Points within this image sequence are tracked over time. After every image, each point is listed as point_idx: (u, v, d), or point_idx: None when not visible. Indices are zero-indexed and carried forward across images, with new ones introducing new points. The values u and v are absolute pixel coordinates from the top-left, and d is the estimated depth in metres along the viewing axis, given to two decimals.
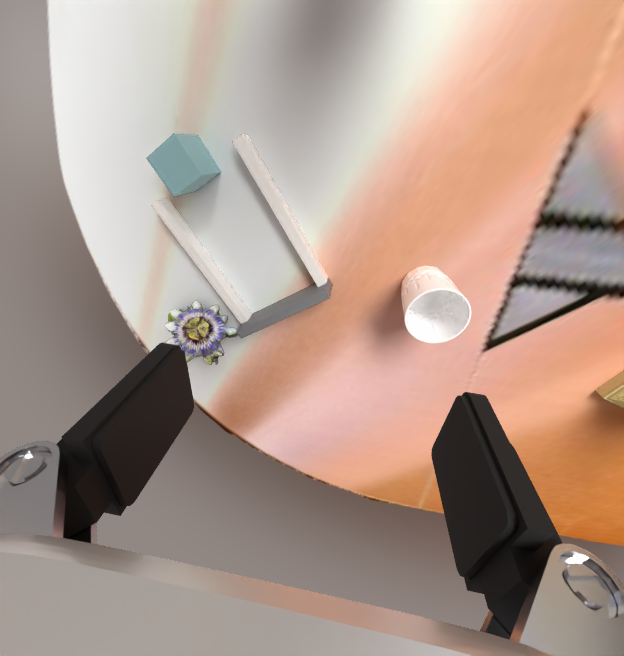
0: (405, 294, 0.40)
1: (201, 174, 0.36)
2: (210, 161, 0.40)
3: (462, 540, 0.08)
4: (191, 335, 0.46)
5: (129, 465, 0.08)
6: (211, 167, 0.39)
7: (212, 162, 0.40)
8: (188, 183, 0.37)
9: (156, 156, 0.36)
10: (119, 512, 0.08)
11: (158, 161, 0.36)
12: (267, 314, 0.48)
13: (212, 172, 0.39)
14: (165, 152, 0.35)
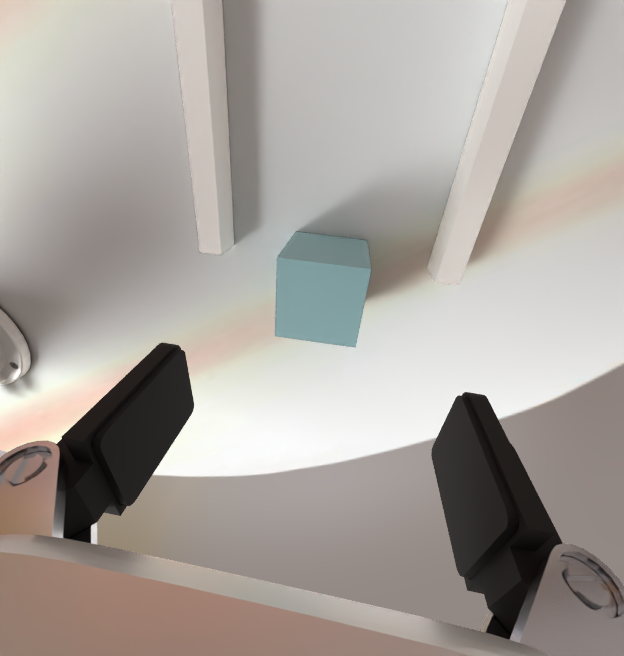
0: None
1: None
2: None
3: (462, 540, 0.08)
4: None
5: (129, 465, 0.08)
6: None
7: None
8: (316, 265, 0.16)
9: (335, 336, 0.18)
10: (119, 512, 0.08)
11: (339, 330, 0.17)
12: None
13: None
14: (313, 329, 0.18)
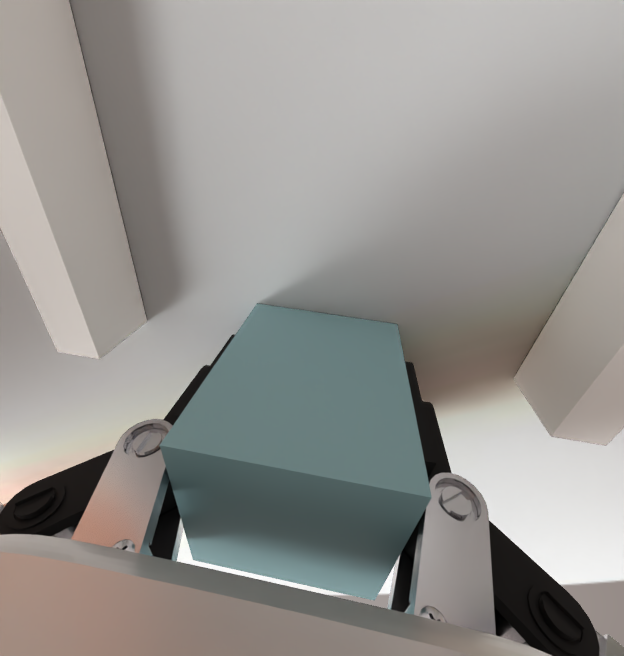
0: None
1: (168, 440, 0.06)
2: None
3: None
4: None
5: None
6: None
7: None
8: (270, 472, 0.05)
9: (327, 580, 0.08)
10: None
11: (336, 574, 0.07)
12: None
13: None
14: (275, 564, 0.07)
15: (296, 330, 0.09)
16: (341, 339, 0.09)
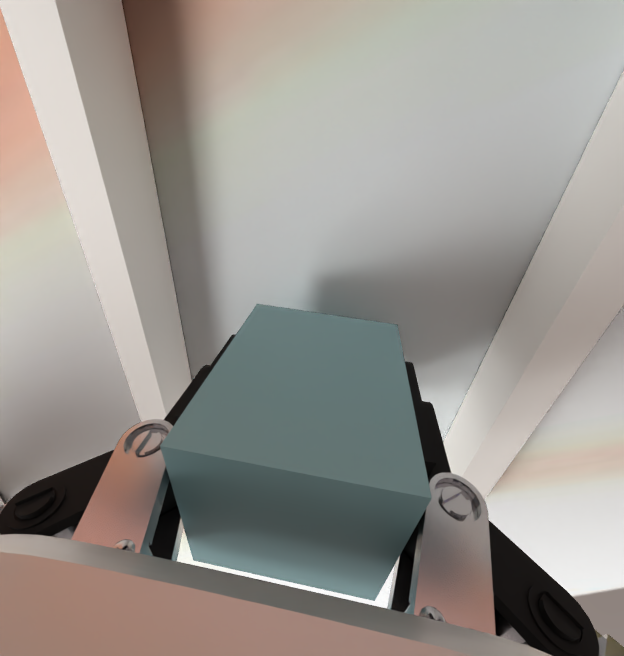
0: None
1: (168, 440, 0.06)
2: None
3: None
4: None
5: None
6: None
7: None
8: (270, 472, 0.05)
9: (327, 581, 0.08)
10: None
11: (336, 575, 0.07)
12: None
13: None
14: (275, 565, 0.07)
15: (296, 331, 0.09)
16: (341, 340, 0.09)
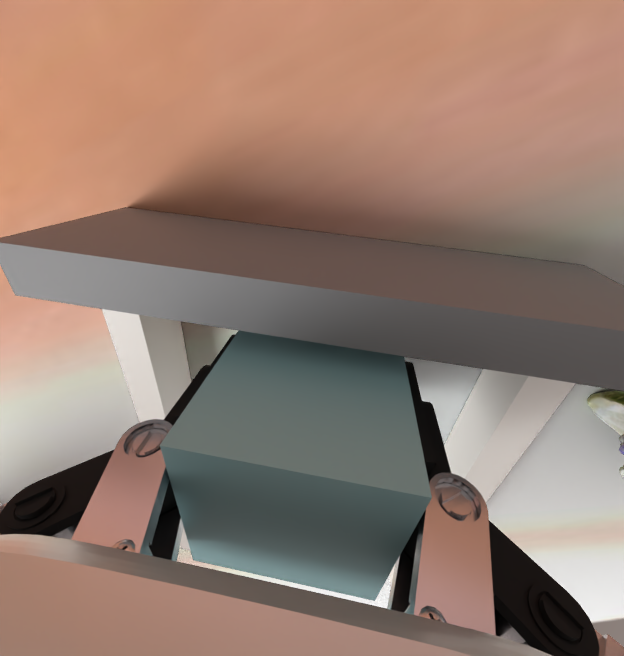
0: None
1: (168, 440, 0.06)
2: None
3: None
4: None
5: None
6: None
7: None
8: (270, 472, 0.05)
9: (327, 581, 0.08)
10: None
11: (336, 574, 0.07)
12: None
13: None
14: (275, 564, 0.07)
15: None
16: None
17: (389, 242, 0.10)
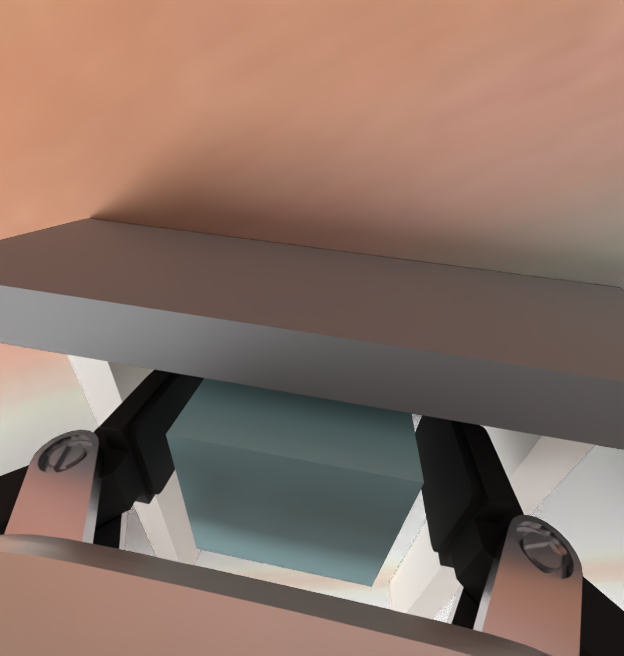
0: None
1: (174, 429, 0.06)
2: None
3: (436, 518, 0.08)
4: None
5: (158, 455, 0.08)
6: None
7: None
8: (271, 459, 0.06)
9: (325, 567, 0.08)
10: (148, 501, 0.08)
11: (334, 561, 0.08)
12: None
13: None
14: (275, 551, 0.08)
15: None
16: None
17: (391, 260, 0.09)
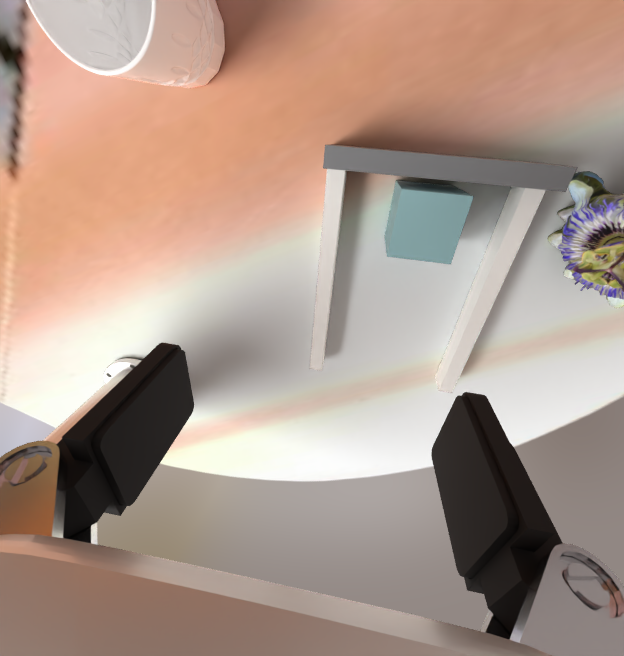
0: (180, 65, 0.19)
1: (401, 190, 0.21)
2: (393, 200, 0.26)
3: (462, 540, 0.08)
4: None
5: (129, 465, 0.08)
6: (395, 192, 0.25)
7: (393, 198, 0.26)
8: (431, 194, 0.21)
9: (435, 255, 0.23)
10: (119, 512, 0.08)
11: (439, 249, 0.23)
12: None
13: (397, 185, 0.24)
14: (418, 249, 0.23)
15: (417, 183, 0.25)
16: (435, 185, 0.25)
17: (456, 155, 0.24)
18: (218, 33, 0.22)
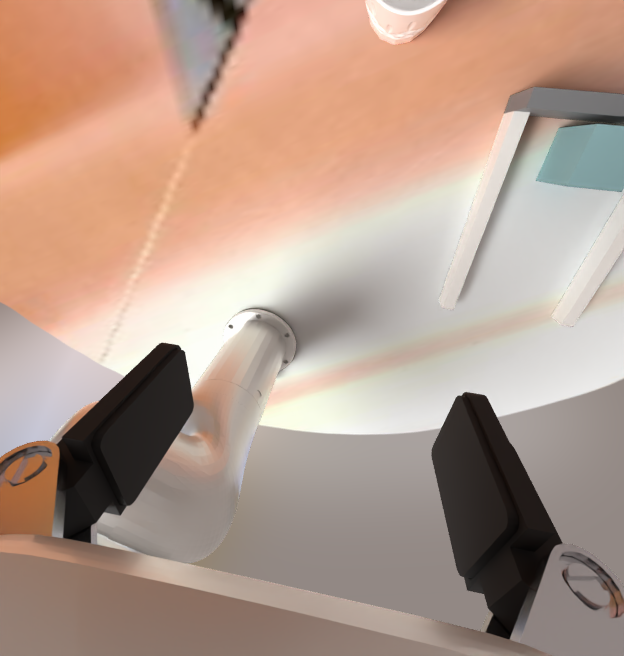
0: (434, 15, 0.24)
1: (595, 125, 0.26)
2: (558, 144, 0.31)
3: (462, 540, 0.08)
4: None
5: (129, 465, 0.08)
6: (566, 135, 0.30)
7: (556, 143, 0.31)
8: (621, 128, 0.26)
9: (610, 184, 0.28)
10: (119, 512, 0.08)
11: (615, 178, 0.28)
12: None
13: (573, 127, 0.29)
14: (597, 178, 0.28)
15: None
16: None
17: None
18: None
